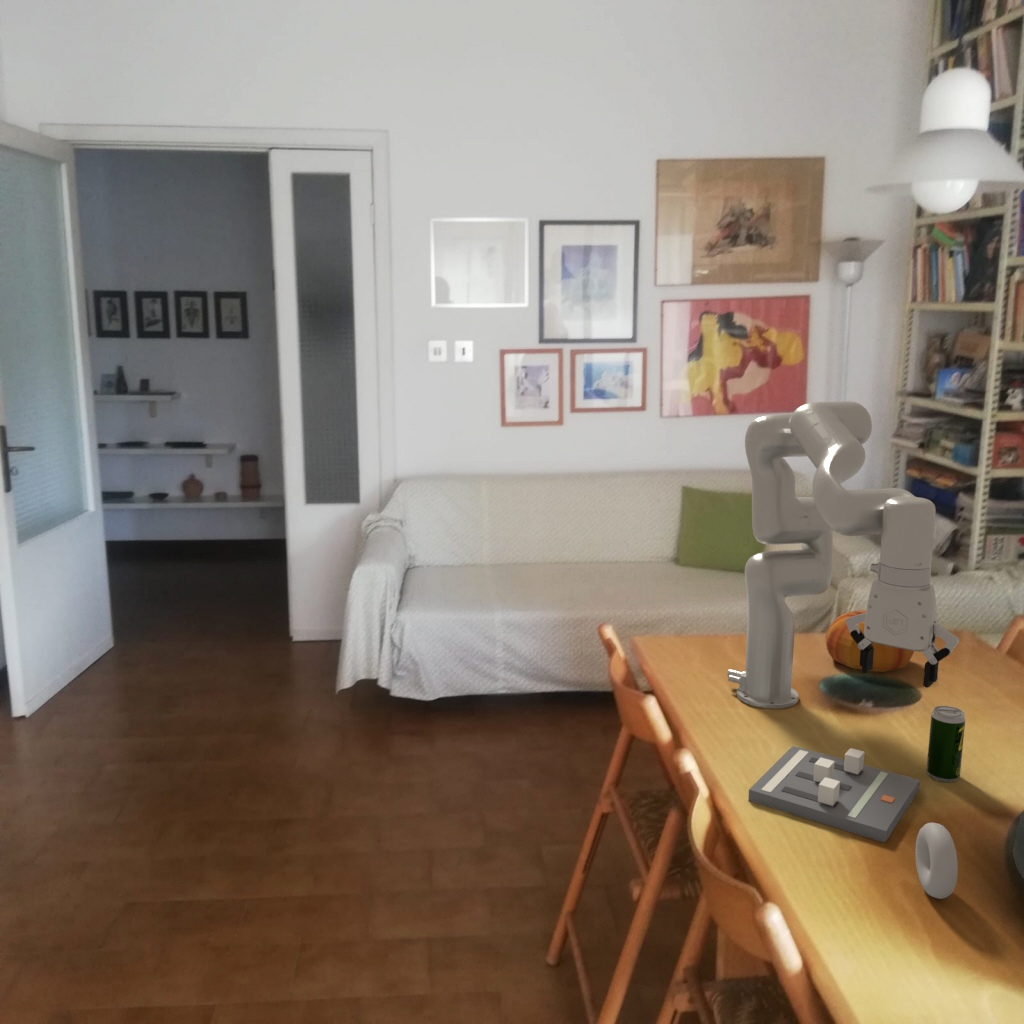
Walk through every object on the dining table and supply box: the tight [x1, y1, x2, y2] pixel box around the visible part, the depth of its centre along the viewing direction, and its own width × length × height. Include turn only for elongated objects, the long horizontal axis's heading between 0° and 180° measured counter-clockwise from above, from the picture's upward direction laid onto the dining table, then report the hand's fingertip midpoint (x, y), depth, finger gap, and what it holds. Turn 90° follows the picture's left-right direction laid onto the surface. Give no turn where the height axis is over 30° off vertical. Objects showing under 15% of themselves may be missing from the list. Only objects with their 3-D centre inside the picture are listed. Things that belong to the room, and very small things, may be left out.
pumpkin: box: [825, 609, 915, 673], centre depth 217 cm, size 19×19×15 cm
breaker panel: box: [748, 745, 921, 844], centre depth 158 cm, size 22×20×5 cm
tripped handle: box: [813, 757, 835, 783], centre depth 159 cm, size 2×3×3 cm
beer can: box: [926, 705, 966, 783], centre depth 164 cm, size 5×5×12 cm
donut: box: [914, 822, 959, 900], centre depth 131 cm, size 10×4×10 cm, turn 173°
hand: (897, 678), depth 152 cm, fingers open, 9 cm apart
